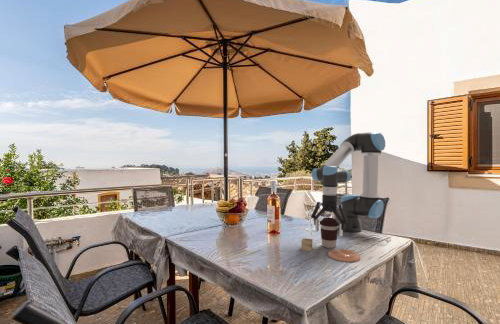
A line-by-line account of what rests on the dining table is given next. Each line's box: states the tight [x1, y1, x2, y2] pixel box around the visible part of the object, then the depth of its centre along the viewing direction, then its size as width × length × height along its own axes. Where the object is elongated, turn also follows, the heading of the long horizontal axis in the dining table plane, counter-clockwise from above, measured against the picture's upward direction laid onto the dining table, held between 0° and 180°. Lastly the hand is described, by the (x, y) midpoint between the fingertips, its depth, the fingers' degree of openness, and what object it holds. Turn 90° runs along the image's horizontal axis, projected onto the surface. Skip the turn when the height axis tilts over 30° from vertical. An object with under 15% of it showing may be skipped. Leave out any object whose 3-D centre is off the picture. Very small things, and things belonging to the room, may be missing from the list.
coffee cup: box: [319, 217, 339, 249], centre depth 150 cm, size 10×10×15 cm
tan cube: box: [300, 237, 313, 252], centre depth 145 cm, size 5×5×5 cm
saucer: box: [327, 248, 362, 263], centre depth 135 cm, size 15×15×1 cm
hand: (328, 233), depth 150 cm, fingers open, 13 cm apart
